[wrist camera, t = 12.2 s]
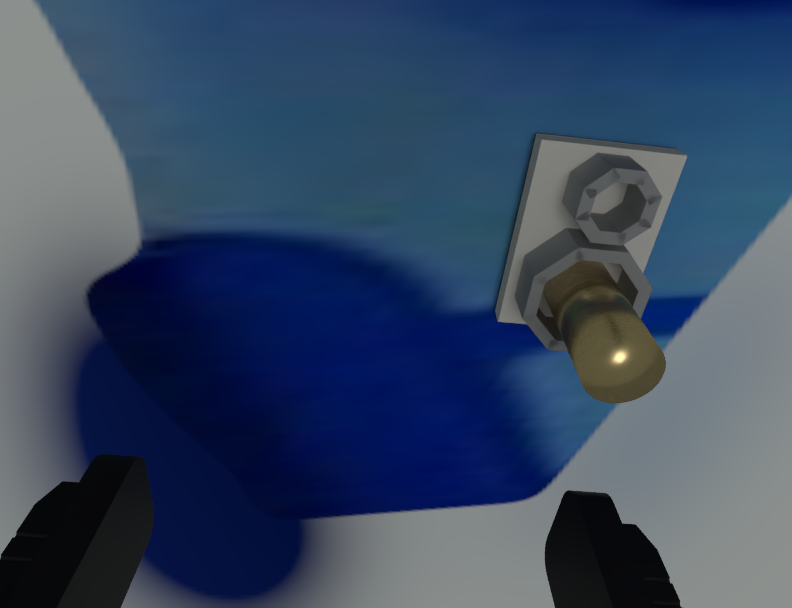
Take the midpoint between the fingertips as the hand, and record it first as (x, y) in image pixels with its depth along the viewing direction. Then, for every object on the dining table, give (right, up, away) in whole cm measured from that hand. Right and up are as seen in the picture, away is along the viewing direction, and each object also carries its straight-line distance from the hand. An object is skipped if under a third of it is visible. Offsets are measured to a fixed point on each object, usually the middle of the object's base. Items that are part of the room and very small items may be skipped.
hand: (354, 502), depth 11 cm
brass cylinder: (+13, +5, +28) cm, 31 cm away
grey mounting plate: (+13, +8, +28) cm, 32 cm away
